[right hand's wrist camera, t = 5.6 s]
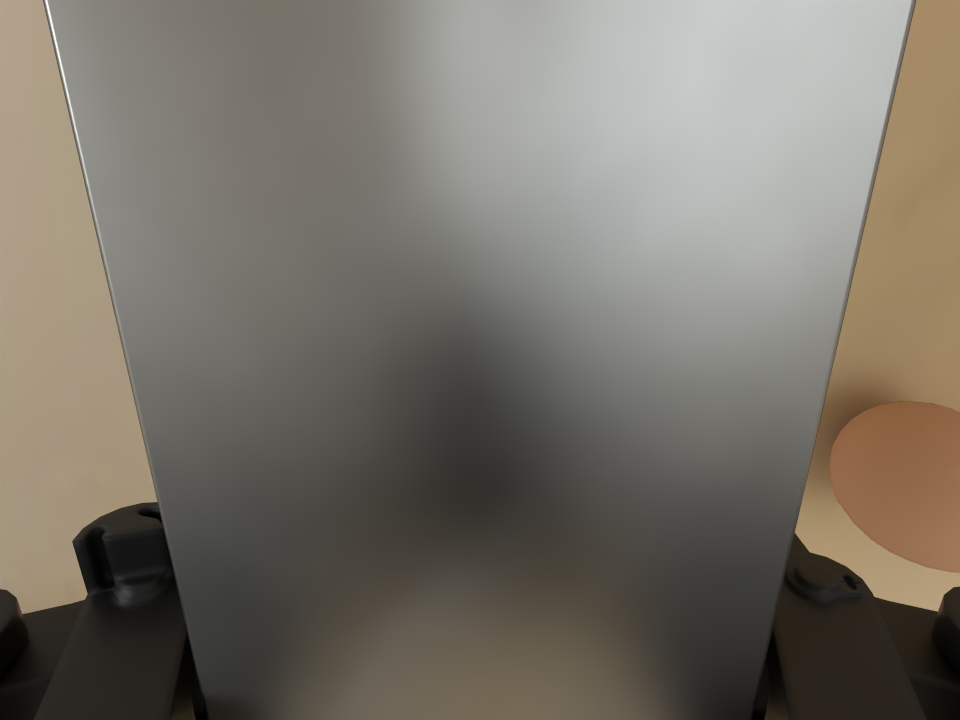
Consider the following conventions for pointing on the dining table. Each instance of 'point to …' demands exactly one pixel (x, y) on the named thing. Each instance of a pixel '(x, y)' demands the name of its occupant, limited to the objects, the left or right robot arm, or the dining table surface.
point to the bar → (479, 332)
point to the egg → (903, 480)
